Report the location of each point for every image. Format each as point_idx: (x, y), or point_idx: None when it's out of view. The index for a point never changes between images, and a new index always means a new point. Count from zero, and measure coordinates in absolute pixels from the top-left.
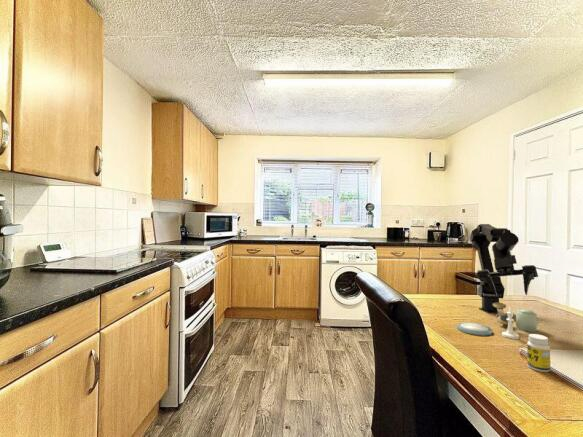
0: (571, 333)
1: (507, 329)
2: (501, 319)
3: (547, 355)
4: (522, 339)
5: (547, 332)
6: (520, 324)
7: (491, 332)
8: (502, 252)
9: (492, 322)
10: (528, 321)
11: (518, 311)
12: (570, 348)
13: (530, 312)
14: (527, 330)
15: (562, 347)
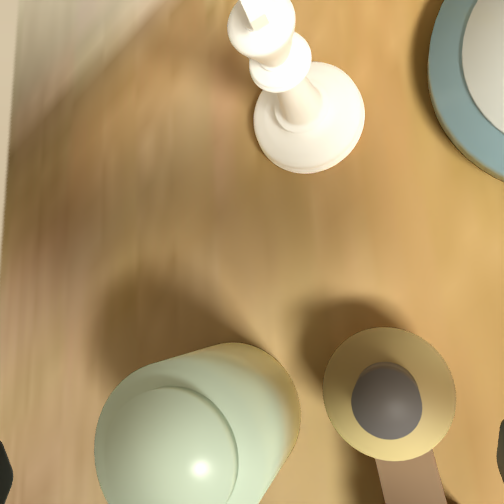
0: None
1: (318, 92)
2: (404, 370)
3: None
4: (237, 112)
5: None
6: (254, 357)
7: (430, 45)
8: None
9: None
10: (183, 354)
11: (239, 452)
12: (31, 146)
13: (128, 406)
14: (221, 344)
15: (60, 132)
